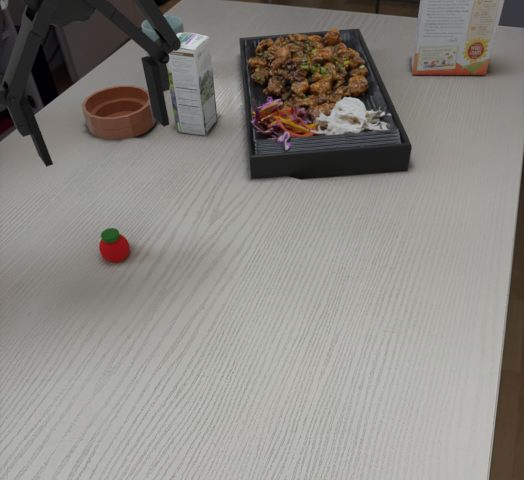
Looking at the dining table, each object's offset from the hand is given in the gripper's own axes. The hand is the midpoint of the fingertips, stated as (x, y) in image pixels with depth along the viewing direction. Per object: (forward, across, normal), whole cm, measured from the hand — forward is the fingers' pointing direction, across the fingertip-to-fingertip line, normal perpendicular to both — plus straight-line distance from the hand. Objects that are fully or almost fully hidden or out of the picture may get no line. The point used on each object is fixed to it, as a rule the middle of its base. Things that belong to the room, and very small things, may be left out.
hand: (105, 140), depth 60 cm
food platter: (+19, +44, +22) cm, 52 cm away
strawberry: (+18, -2, +3) cm, 19 cm away
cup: (+19, +28, +50) cm, 60 cm away
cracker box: (+18, +74, +18) cm, 78 cm away
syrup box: (+19, +24, +28) cm, 41 cm away
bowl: (+18, +13, +37) cm, 43 cm away
